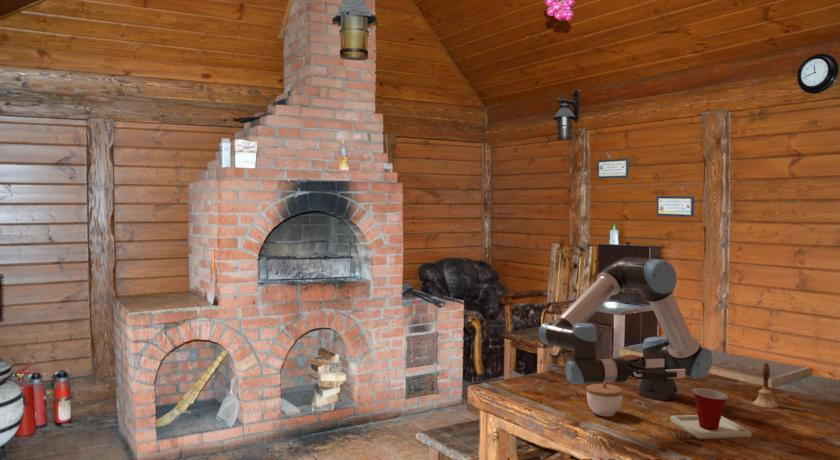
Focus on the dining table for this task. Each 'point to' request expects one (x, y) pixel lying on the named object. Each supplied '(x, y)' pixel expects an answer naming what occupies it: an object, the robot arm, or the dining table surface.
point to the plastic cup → (709, 407)
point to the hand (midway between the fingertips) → (674, 367)
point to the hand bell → (765, 391)
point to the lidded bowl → (604, 398)
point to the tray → (724, 430)
